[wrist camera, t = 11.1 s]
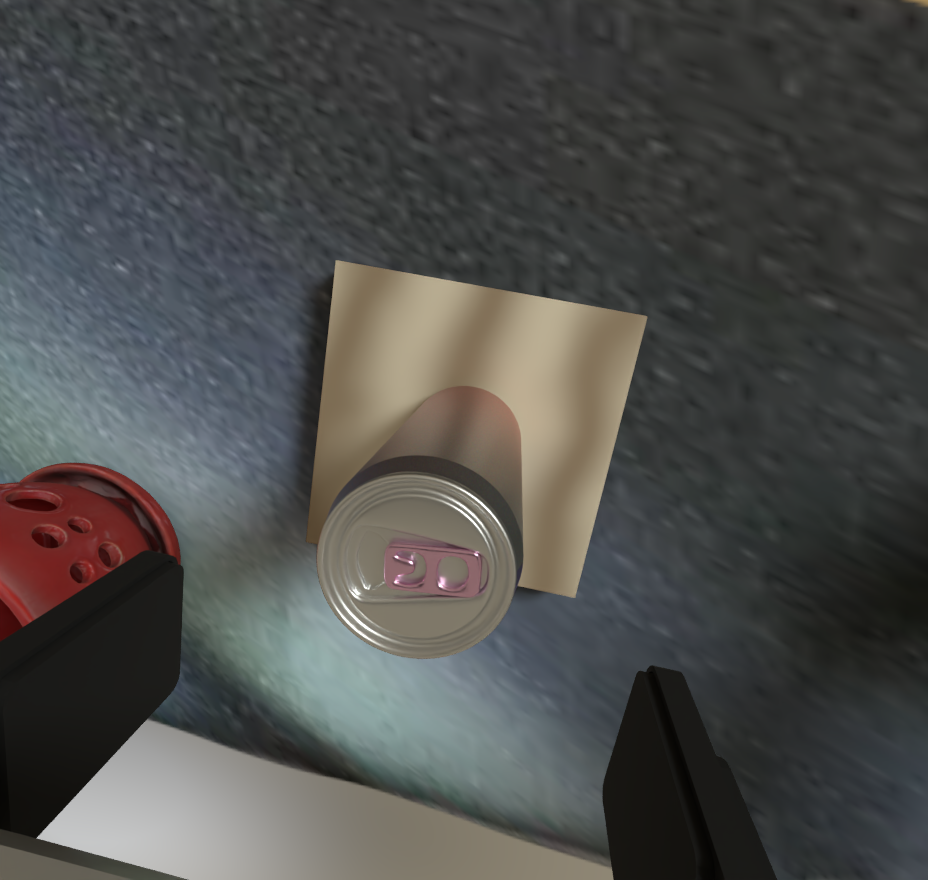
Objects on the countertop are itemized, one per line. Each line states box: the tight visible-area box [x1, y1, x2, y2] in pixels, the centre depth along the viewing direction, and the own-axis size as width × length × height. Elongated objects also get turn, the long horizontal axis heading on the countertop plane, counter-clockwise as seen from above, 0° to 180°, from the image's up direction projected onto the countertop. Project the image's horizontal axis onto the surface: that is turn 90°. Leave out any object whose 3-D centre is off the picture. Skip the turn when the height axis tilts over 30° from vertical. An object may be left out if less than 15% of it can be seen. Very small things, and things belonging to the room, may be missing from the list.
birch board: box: [306, 260, 647, 598], centre depth 30 cm, size 16×16×2 cm
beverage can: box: [317, 386, 524, 659], centre depth 22 cm, size 6×6×15 cm
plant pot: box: [0, 463, 181, 641], centre depth 30 cm, size 13×13×12 cm
